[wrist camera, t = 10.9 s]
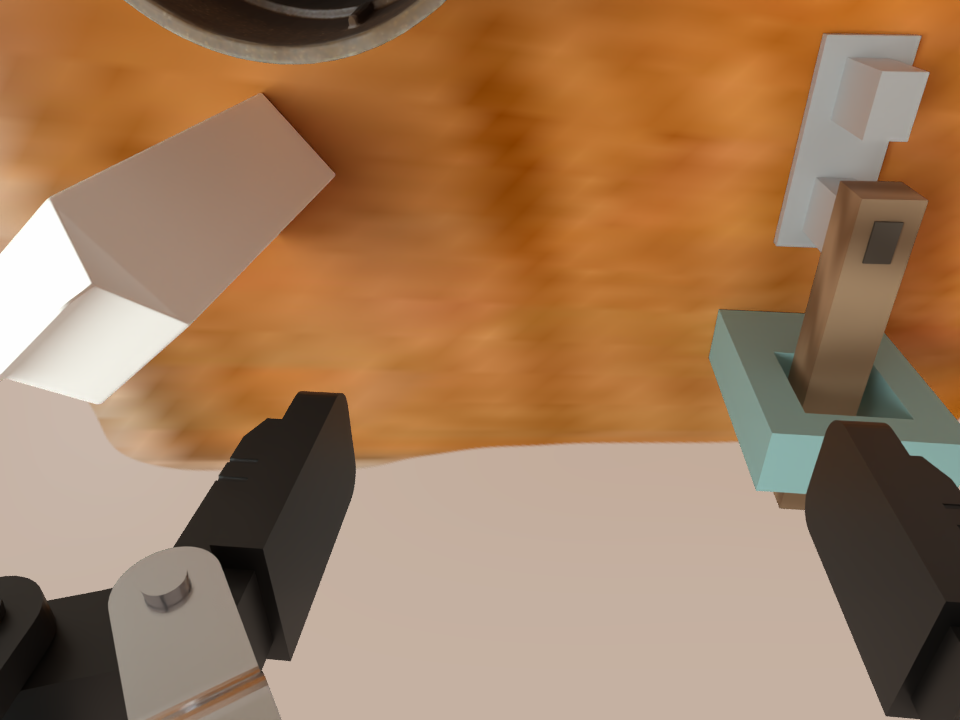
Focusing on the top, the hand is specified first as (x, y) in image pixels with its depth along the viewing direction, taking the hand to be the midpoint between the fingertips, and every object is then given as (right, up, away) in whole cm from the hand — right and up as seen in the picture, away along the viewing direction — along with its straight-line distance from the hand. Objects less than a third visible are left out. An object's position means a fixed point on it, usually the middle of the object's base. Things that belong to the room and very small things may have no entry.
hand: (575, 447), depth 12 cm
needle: (+17, +2, +26) cm, 31 cm away
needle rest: (+18, +13, +25) cm, 33 cm away
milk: (-14, +13, +29) cm, 35 cm away
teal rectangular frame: (+18, +3, +31) cm, 36 cm away
